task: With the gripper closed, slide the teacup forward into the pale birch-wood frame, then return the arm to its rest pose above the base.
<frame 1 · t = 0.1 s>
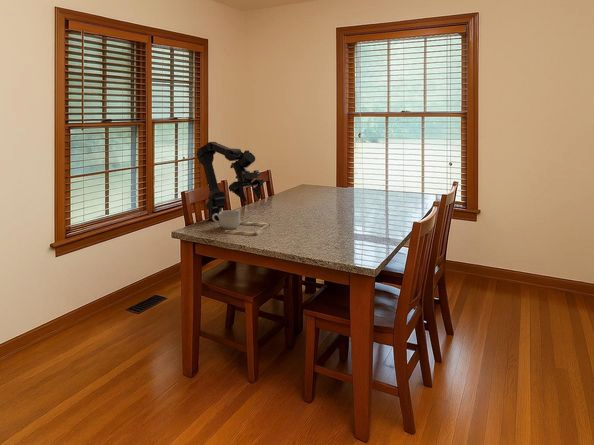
hand: (252, 200, 224), 15 cm above the table, tool tilted 35°, fingers open, 9 cm apart
teacup: (226, 228, 231), on the table
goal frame: (247, 229, 228), on the table
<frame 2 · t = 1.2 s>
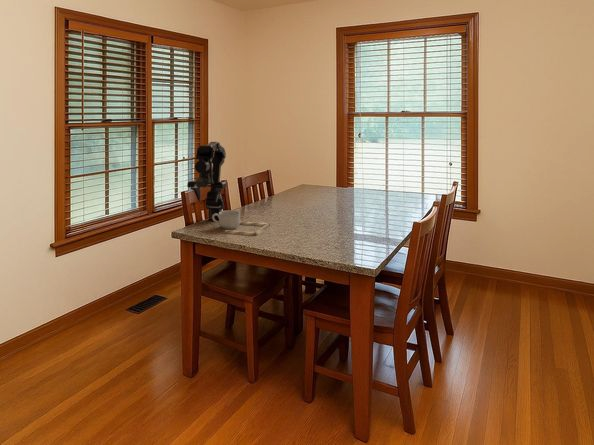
hand: (207, 201, 230), 13 cm above the table, tool pointing down, fingers open, 9 cm apart
nothing on the table moved.
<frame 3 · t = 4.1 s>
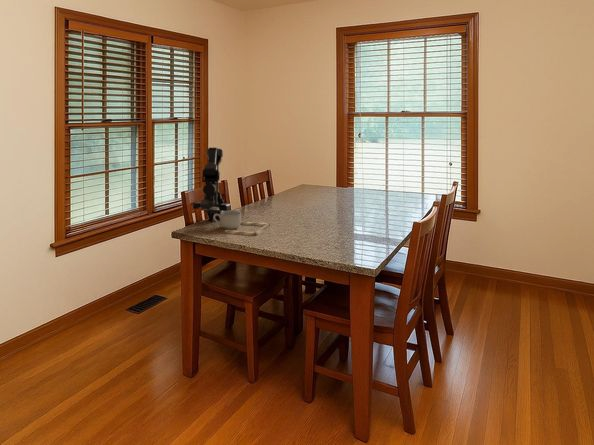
hand: (212, 222, 232), 2 cm above the table, tool pointing down, fingers closed
teacup: (227, 228, 231), on the table, touching gripper
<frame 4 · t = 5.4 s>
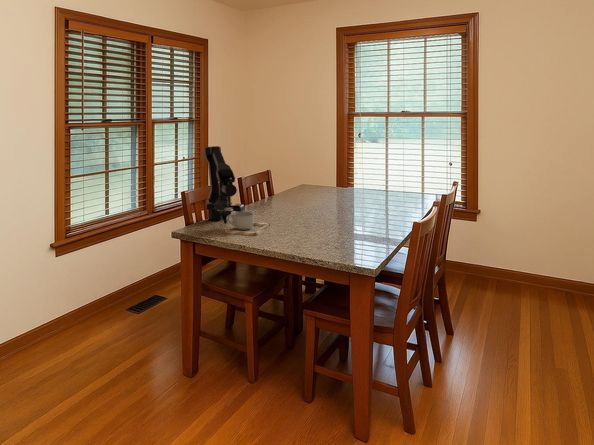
hand: (225, 223, 230), 2 cm above the table, tool pointing down, fingers closed
teacup: (240, 229, 229), on the table, touching gripper
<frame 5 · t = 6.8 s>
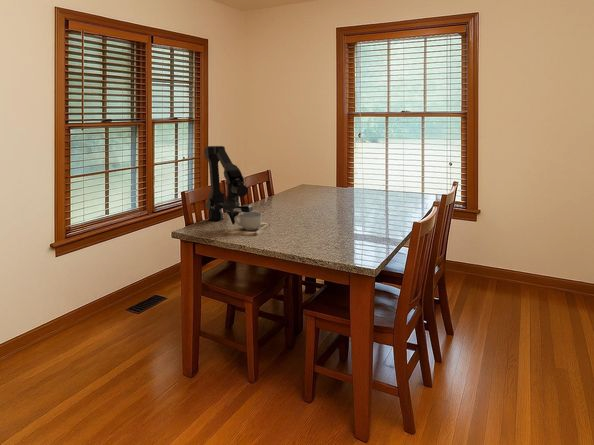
hand: (233, 224, 230), 2 cm above the table, tool pointing down, fingers closed
teacup: (248, 229, 229), on the table, touching gripper
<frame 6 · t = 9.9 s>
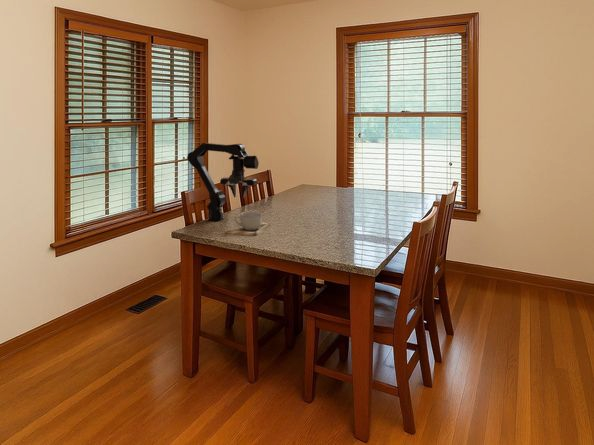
hand: (239, 197, 242), 13 cm above the table, tool pointing down, fingers open, 4 cm apart
teacup: (248, 229, 229), on the table
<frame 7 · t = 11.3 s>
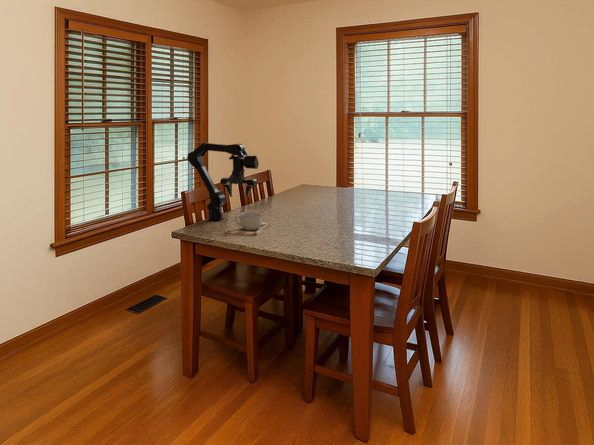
hand: (239, 197, 242), 13 cm above the table, tool pointing down, fingers open, 9 cm apart
nothing on the table moved.
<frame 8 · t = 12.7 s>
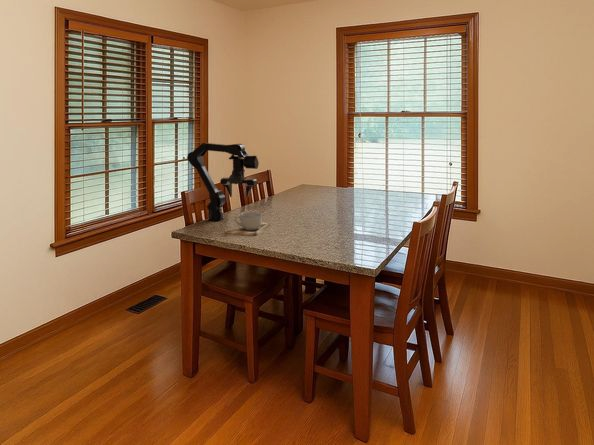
hand: (239, 197, 242), 13 cm above the table, tool pointing down, fingers open, 9 cm apart
nothing on the table moved.
at the end: teacup inside the target area (0.4 cm from its centre), on the table; teacup tilted 0°; teacup moved 11.5 cm from its start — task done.
